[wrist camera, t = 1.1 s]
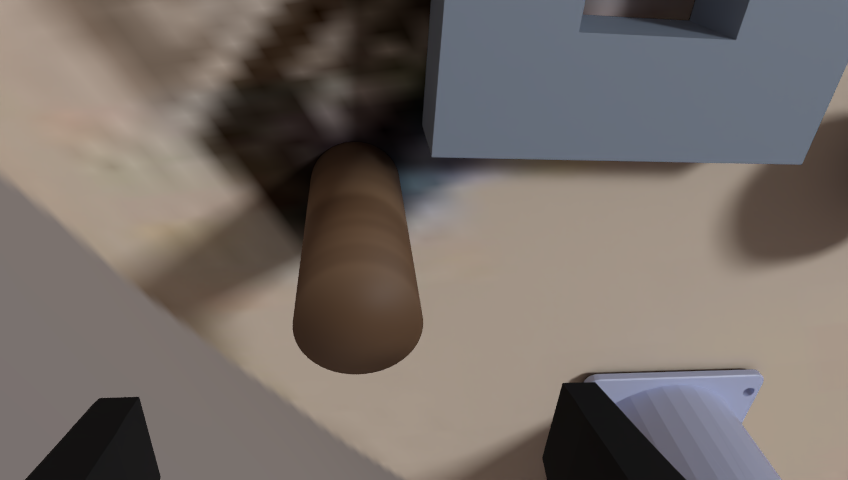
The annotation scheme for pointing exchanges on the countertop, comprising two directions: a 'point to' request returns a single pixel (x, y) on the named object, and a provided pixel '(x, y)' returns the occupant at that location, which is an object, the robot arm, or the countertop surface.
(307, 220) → the long walnut pin
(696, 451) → the robot arm
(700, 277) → the countertop surface
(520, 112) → the hole block
